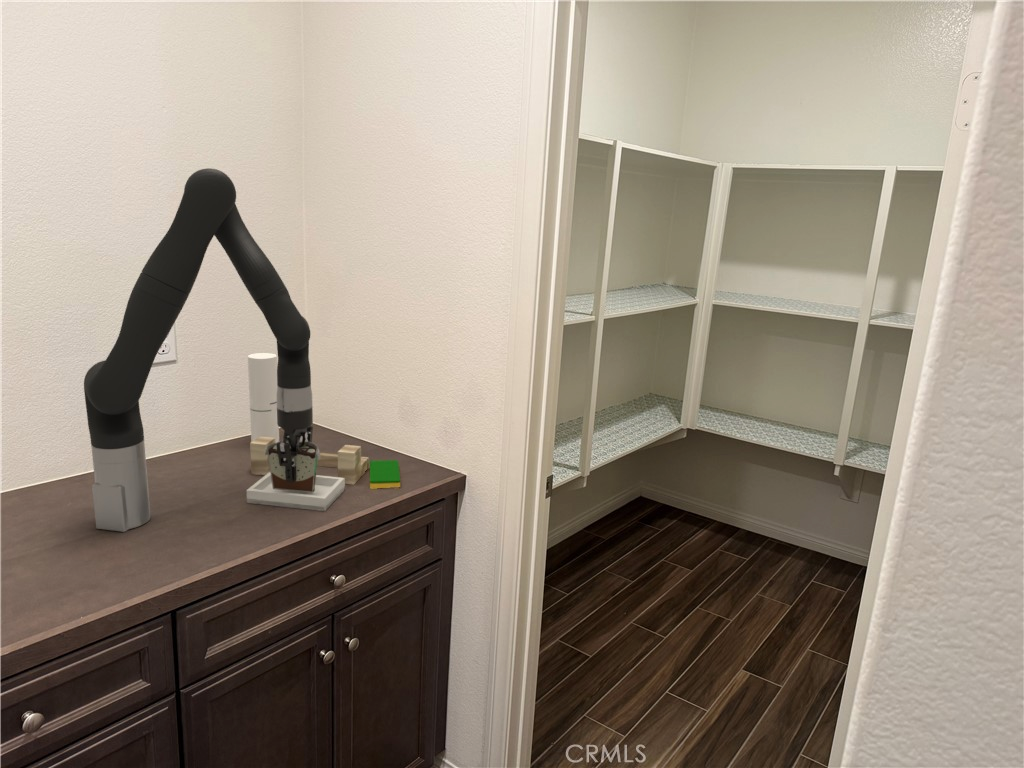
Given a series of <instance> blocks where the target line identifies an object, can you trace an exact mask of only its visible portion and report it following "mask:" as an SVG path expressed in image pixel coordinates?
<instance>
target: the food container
mask: <svg viewBox="0 0 1024 768" xmlns="http://www.w3.org/2000/svg"><path fill="white" fill-rule="evenodd" d="M277 443H278V442H277ZM277 443H274V444H271V445H269V446H267V449H266V452H265V455H267V454H268V460H269V467H270V474H271V480H272V487H273V489H277V490H288V491H299V492H310V493H313V492H314V491H315V480H316V475H317V467H318V466H317V458H318V460H319V459H320V453H321V451H320V449H319V447H318V445H317V444H315V443H314V442H312V443H311V442H308V446H307V447H304V446H303V447H301V448H300V452H299V455H298V456H297V457H296V459H297V460H296V481H295V482H287V481H286V475H285V466H280V465H279V458H278V452H277ZM291 452H295V450H291ZM291 457H292V458H293V456H291ZM283 460H284V458H283Z"/></svg>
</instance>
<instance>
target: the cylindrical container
mask: <svg viewBox="0 0 1024 768" xmlns="http://www.w3.org/2000/svg"><path fill="white" fill-rule="evenodd" d="M247 365H248V367H247V368H248V369H247V370H248V371H247V372H248V390H249V394H248V395H249V396H248V397H249V414H250V415H249V417H250V437H251V439H250V440H251V442H252V441H254V440H255V439H257V438H258V437H270V438H275V443H277V442H280V427H279V426H278V424H277V365H278V355H277V354H275V353H271V352H257V353H251V354H249V355H247ZM251 442H250V443H251Z"/></svg>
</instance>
